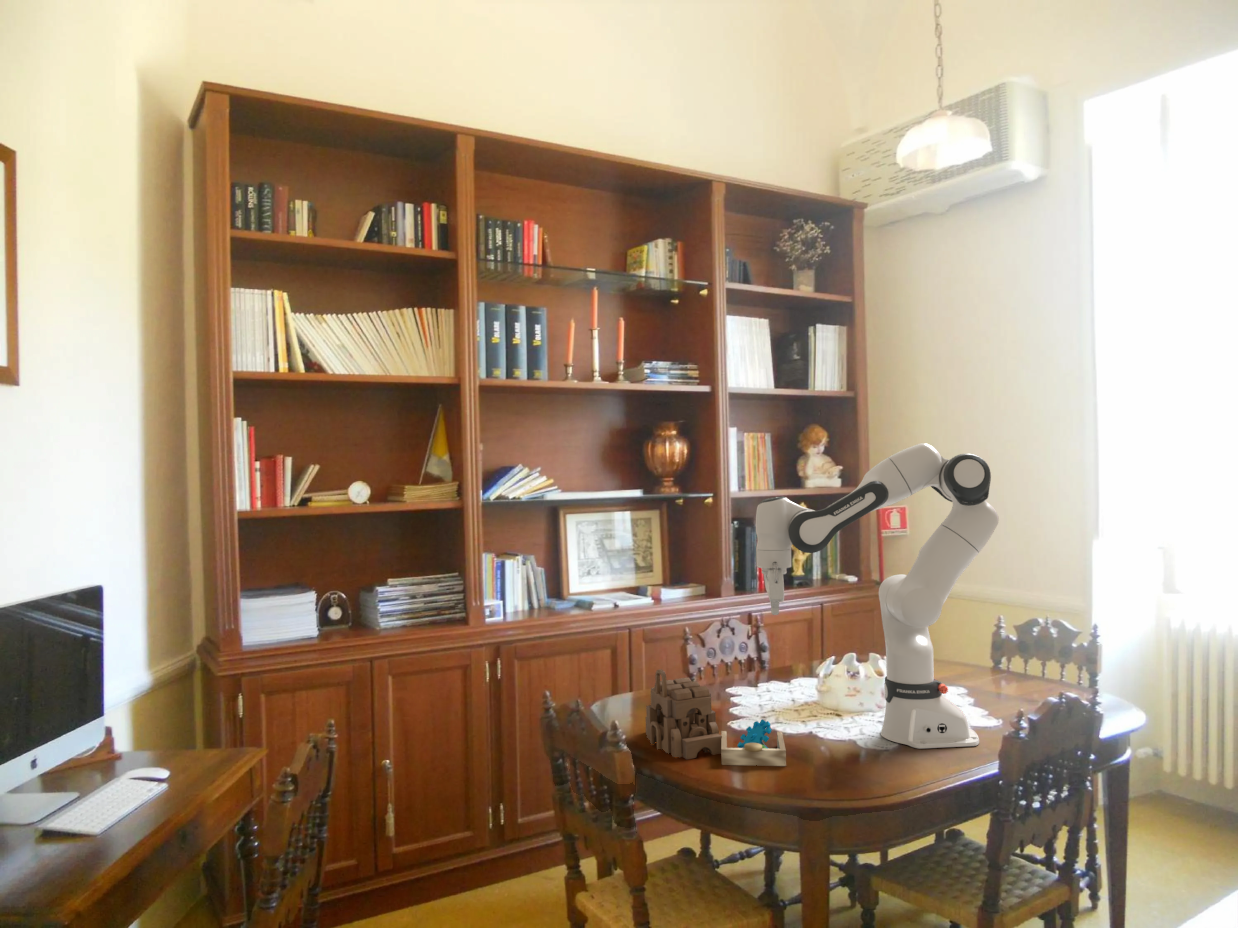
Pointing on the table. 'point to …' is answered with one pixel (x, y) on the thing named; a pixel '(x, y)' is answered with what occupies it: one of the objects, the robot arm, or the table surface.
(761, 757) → the drawer
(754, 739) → the gear
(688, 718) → the wooden puzzle
